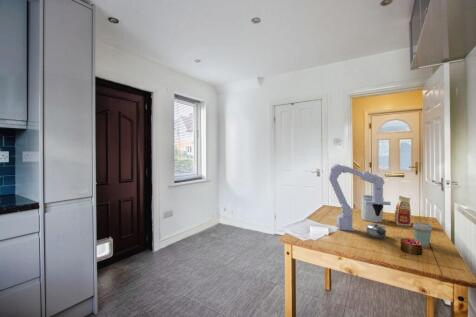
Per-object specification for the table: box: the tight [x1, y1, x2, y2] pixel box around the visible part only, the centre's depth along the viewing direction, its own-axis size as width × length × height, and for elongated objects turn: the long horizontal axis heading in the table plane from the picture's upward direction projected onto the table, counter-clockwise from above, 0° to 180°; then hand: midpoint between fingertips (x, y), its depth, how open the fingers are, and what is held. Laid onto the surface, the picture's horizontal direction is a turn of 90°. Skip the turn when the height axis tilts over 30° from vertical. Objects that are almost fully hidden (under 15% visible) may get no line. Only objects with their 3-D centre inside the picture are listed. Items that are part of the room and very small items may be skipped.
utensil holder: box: [360, 194, 385, 223], centre depth 175 cm, size 15×15×18 cm
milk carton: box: [394, 195, 412, 227], centre depth 166 cm, size 9×9×20 cm
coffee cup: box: [412, 221, 433, 249], centre depth 128 cm, size 8×8×12 cm
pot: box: [366, 227, 387, 240], centre depth 142 cm, size 17×10×5 cm, turn 170°
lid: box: [365, 223, 387, 234], centre depth 140 cm, size 16×11×2 cm
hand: (377, 215), depth 150 cm, fingers closed
